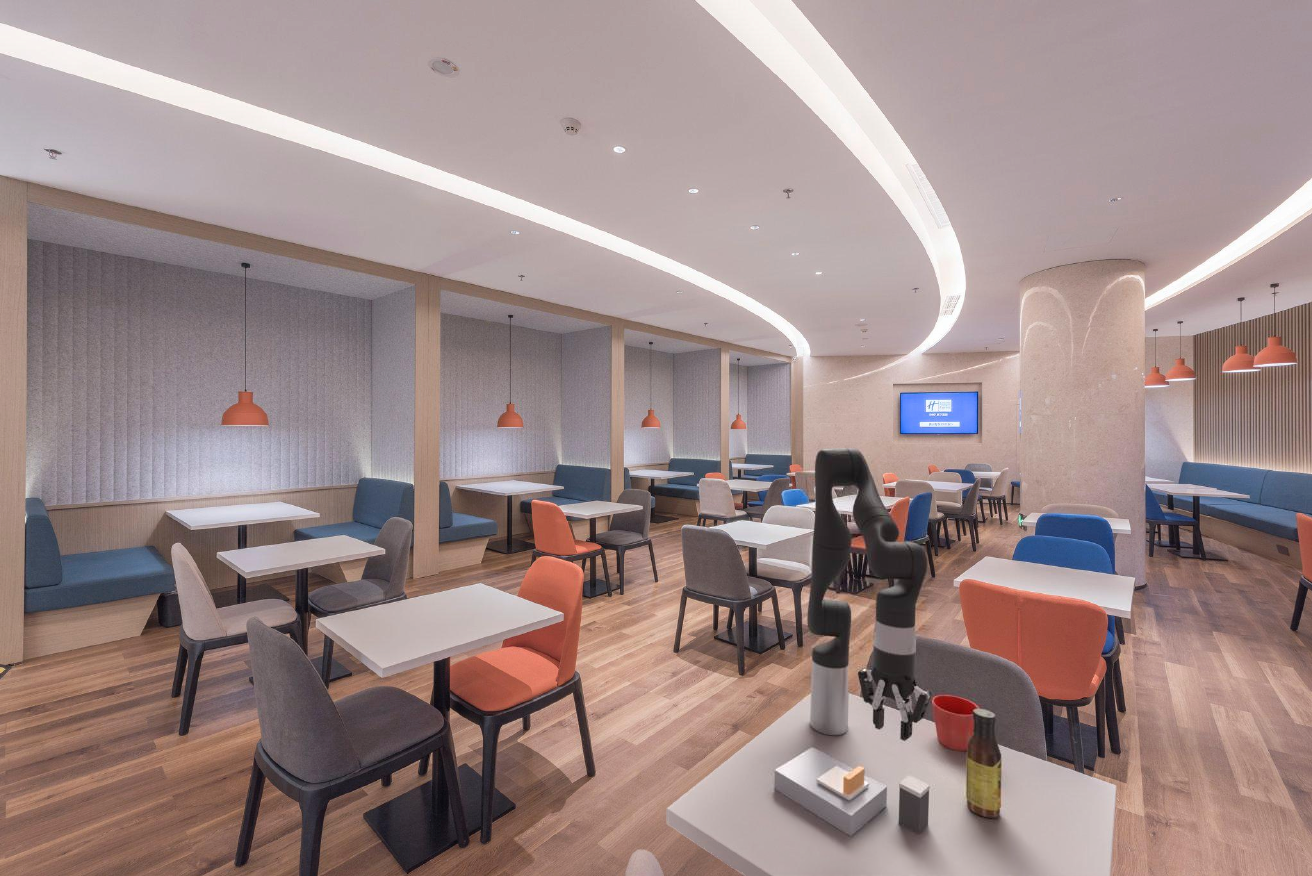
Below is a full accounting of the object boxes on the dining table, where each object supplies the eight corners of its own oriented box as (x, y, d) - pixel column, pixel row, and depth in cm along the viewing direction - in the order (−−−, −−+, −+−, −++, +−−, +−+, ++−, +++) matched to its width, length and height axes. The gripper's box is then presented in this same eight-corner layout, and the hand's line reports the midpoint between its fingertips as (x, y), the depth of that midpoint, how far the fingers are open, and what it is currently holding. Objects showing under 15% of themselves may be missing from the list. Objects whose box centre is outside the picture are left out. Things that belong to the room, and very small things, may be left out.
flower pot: (921, 736, 141) (922, 698, 141) (949, 727, 146) (951, 691, 146) (959, 759, 131) (960, 718, 131) (988, 749, 136) (990, 710, 136)
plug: (907, 814, 111) (908, 775, 111) (928, 825, 108) (929, 785, 108) (898, 823, 109) (899, 783, 109) (919, 835, 106) (920, 793, 106)
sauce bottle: (1005, 822, 110) (1009, 723, 110) (971, 817, 111) (974, 719, 111) (992, 801, 116) (995, 708, 116) (960, 796, 117) (963, 704, 117)
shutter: (836, 768, 119) (836, 751, 119) (868, 785, 113) (869, 768, 113) (816, 781, 114) (817, 764, 114) (849, 800, 108) (850, 782, 108)
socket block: (811, 764, 127) (812, 747, 127) (886, 805, 114) (887, 786, 114) (774, 788, 118) (774, 770, 118) (850, 836, 105) (851, 815, 105)
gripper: (941, 652, 103) (938, 743, 103) (869, 630, 114) (866, 712, 114) (923, 662, 98) (920, 757, 98) (850, 638, 109) (847, 724, 109)
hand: (891, 732), depth 106 cm, fingers open, 4 cm apart
